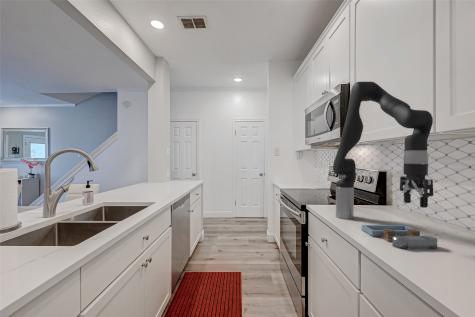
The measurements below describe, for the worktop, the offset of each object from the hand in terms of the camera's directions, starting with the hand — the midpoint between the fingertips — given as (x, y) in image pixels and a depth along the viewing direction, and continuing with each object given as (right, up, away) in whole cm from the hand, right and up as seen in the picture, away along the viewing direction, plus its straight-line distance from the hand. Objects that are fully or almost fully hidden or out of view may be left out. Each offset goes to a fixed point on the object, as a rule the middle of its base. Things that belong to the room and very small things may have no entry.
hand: (415, 205), depth 93 cm
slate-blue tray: (0, -16, +16) cm, 22 cm away
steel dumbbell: (0, -16, 0) cm, 16 cm away
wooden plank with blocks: (0, -16, +8) cm, 18 cm away
